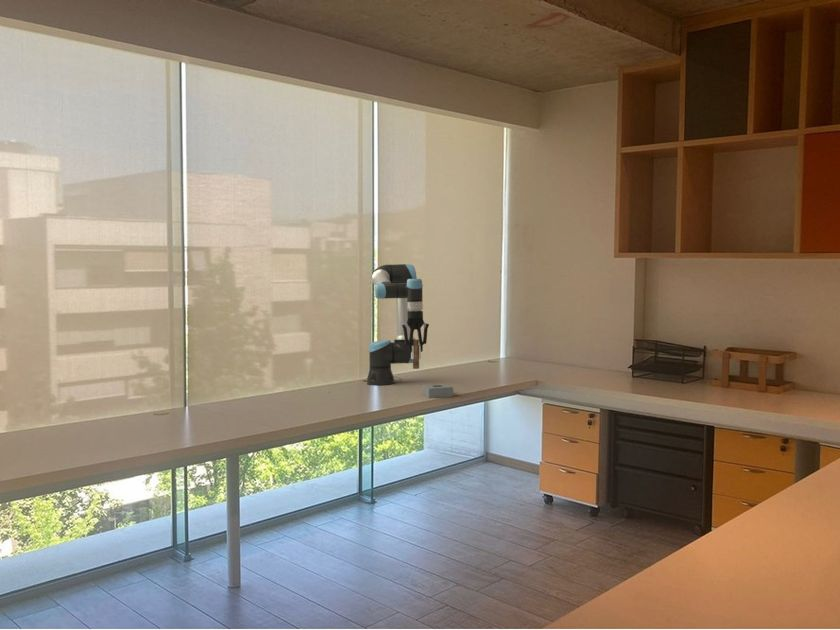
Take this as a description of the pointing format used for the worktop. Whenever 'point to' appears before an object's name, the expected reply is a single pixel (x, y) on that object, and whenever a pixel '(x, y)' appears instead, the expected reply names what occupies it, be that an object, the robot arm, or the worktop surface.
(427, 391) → the socket block
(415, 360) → the dowel
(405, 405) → the worktop surface
